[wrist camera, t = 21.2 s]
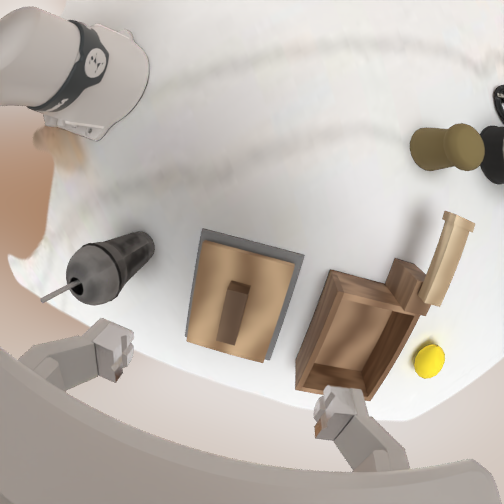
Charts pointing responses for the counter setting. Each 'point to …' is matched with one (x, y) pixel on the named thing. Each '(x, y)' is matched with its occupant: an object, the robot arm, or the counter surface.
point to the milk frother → (494, 145)
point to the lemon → (429, 361)
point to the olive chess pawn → (447, 148)
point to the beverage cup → (105, 267)
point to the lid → (237, 300)
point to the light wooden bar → (445, 258)
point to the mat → (257, 249)
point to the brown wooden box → (359, 330)
